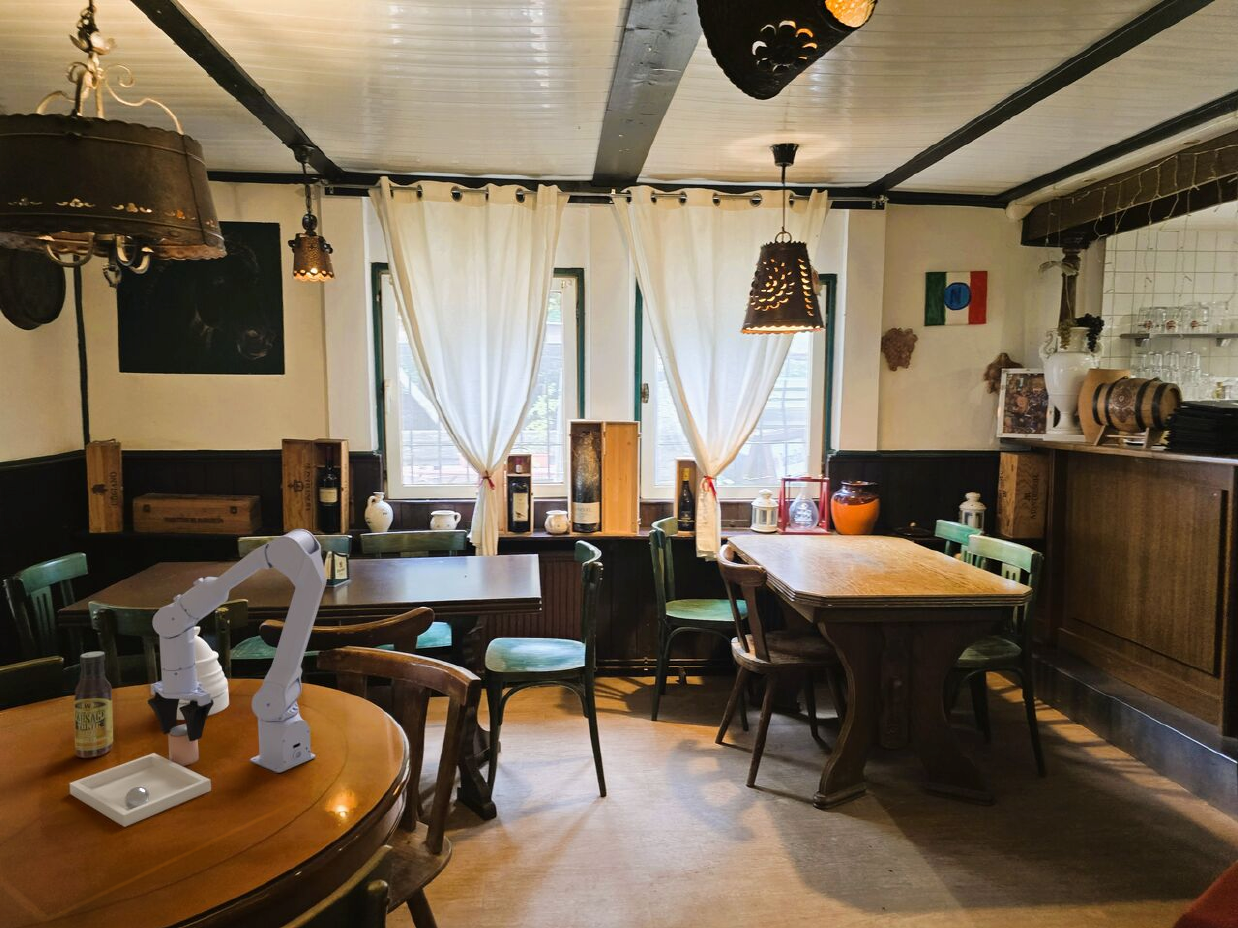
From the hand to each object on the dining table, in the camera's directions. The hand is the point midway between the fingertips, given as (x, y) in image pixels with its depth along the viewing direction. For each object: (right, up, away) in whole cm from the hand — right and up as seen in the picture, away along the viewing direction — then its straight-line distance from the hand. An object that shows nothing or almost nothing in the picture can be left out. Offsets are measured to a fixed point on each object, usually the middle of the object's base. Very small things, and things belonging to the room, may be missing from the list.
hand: (182, 735), depth 148 cm
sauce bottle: (-20, -6, +6) cm, 22 cm away
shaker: (0, -6, 0) cm, 6 cm away
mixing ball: (+2, -6, -17) cm, 18 cm away
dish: (-1, -6, -12) cm, 13 cm away
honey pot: (-12, -4, +28) cm, 31 cm away
